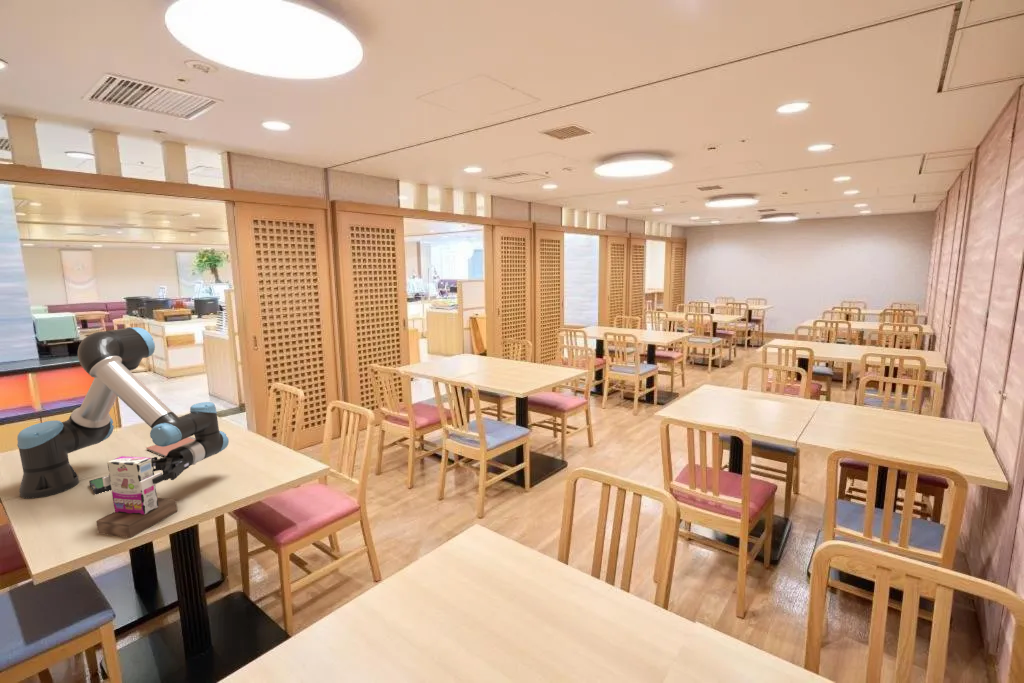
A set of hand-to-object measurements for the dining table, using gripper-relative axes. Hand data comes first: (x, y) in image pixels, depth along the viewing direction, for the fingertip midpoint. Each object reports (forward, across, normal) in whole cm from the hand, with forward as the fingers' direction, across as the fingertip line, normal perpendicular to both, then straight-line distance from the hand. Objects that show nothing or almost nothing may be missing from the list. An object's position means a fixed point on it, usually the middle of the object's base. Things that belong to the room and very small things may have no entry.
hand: (122, 484), depth 139 cm
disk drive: (-24, +34, -15) cm, 44 cm away
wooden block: (-3, 0, -14) cm, 14 cm away
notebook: (-55, +39, -15) cm, 69 cm away
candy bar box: (-3, 0, -10) cm, 11 cm away
